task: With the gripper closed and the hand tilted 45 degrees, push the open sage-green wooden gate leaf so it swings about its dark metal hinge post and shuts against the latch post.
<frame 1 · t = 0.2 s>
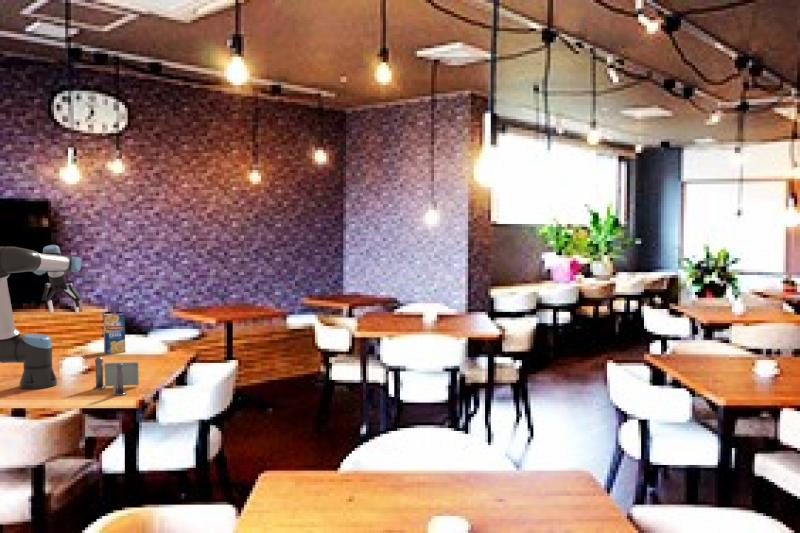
hand: (64, 312, 370), 28 cm above the table, tool tilted 20°, fingers open, 13 cm apart
gate: (121, 374, 318), point 6 cm above the table, hinge at 50.0°
blue cracker box: (114, 352, 411), on the table
hinge post: (99, 388, 317), on the table
latch post: (120, 394, 305), on the table
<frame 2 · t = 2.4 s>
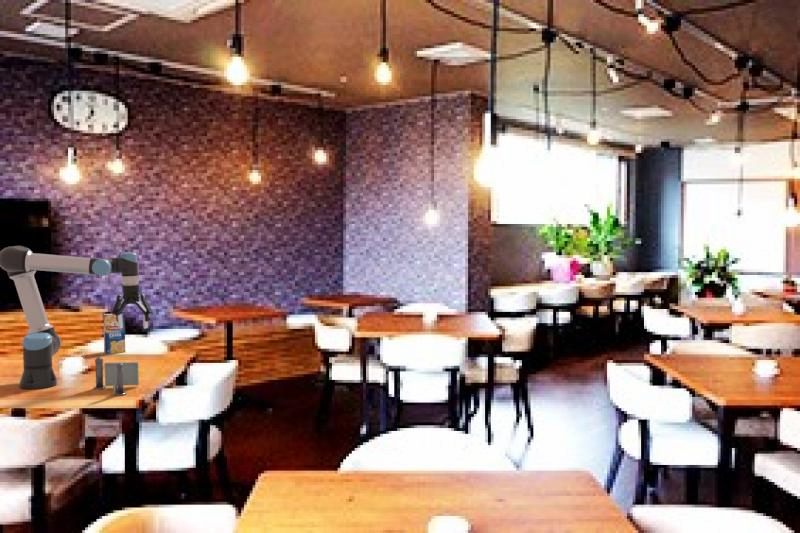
hand: (133, 328, 343), 23 cm above the table, tool pointing down, fingers open, 13 cm apart
nothing on the table moved.
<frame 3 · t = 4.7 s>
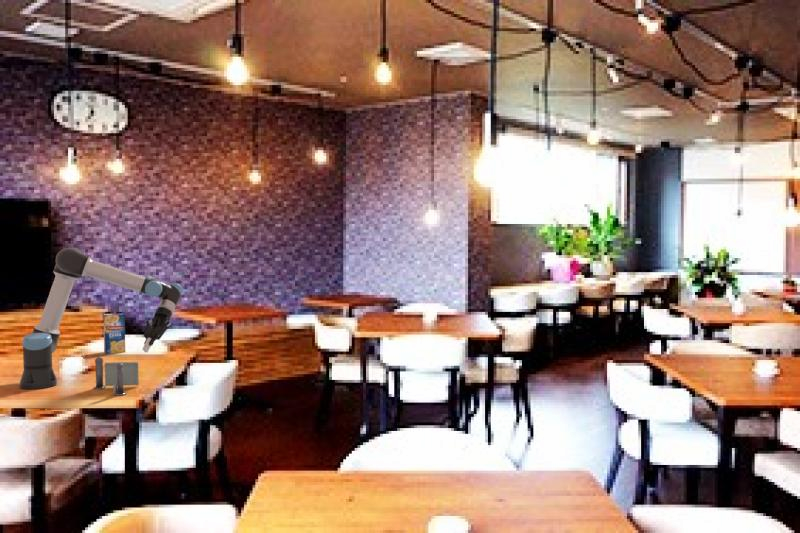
hand: (145, 350, 331), 14 cm above the table, tool tilted 45°, fingers closed
nothing on the table moved.
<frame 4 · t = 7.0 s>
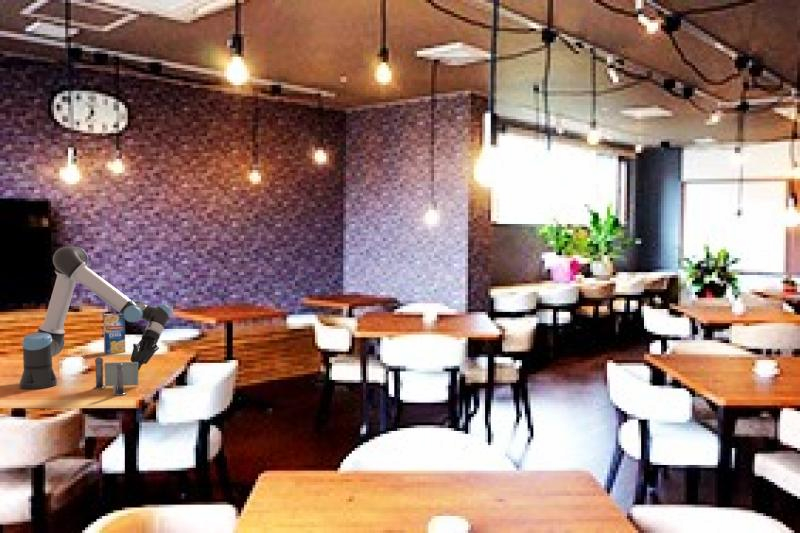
hand: (131, 375, 320), 5 cm above the table, tool tilted 45°, fingers closed
gate: (121, 374, 318), point 6 cm above the table, hinge at 48.8°, touching gripper
everything else where it was.
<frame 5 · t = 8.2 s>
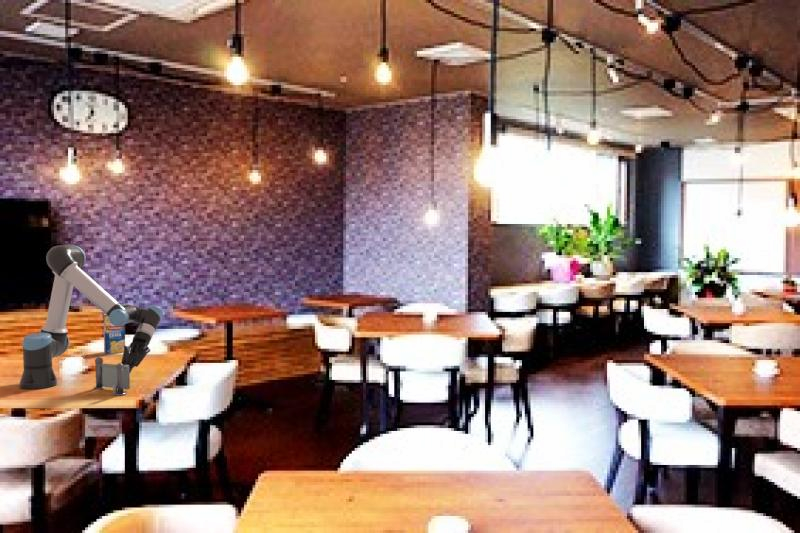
hand: (122, 378, 314), 5 cm above the table, tool tilted 45°, fingers closed
gate: (115, 376, 313), point 6 cm above the table, hinge at 18.0°, touching gripper
everything else where it was.
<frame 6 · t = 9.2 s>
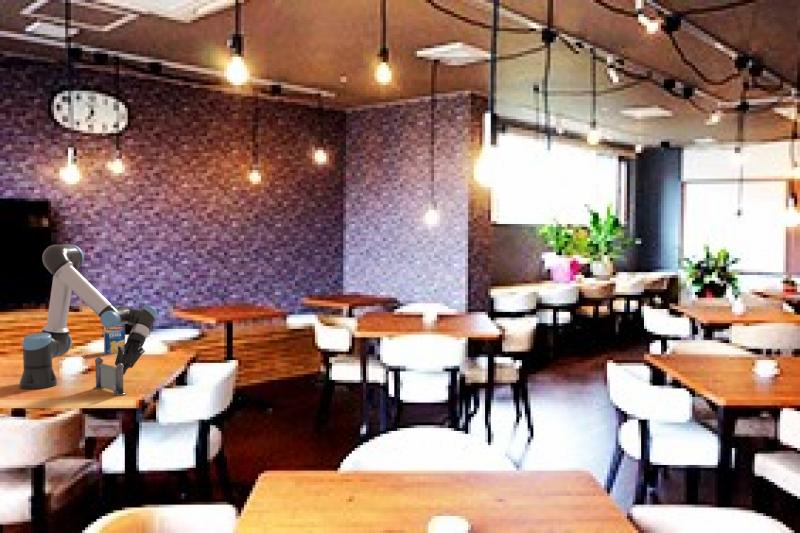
hand: (116, 380, 311), 5 cm above the table, tool tilted 45°, fingers closed
gate: (109, 377, 310), point 6 cm above the table, hinge at -0.3°, touching gripper, latch post
everything else where it was.
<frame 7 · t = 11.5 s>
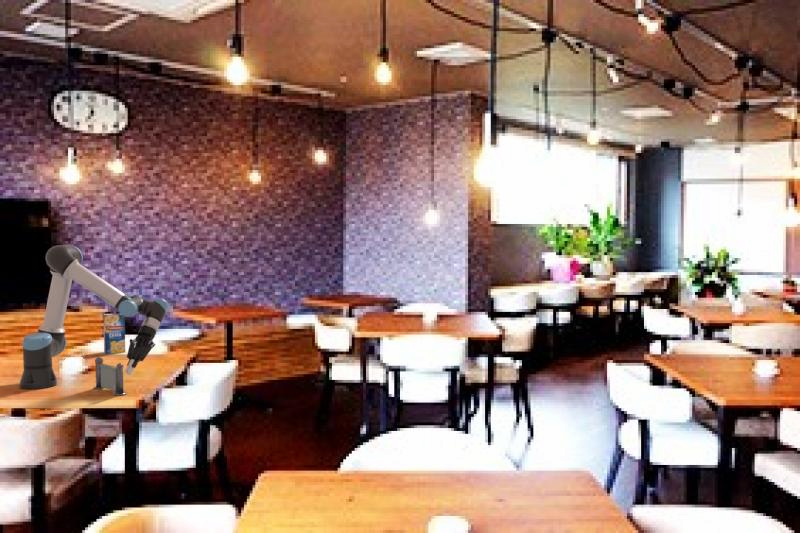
hand: (127, 373, 321), 6 cm above the table, tool tilted 40°, fingers closed
gate: (109, 377, 310), point 6 cm above the table, hinge at -0.3°, touching latch post
everything else where it was.
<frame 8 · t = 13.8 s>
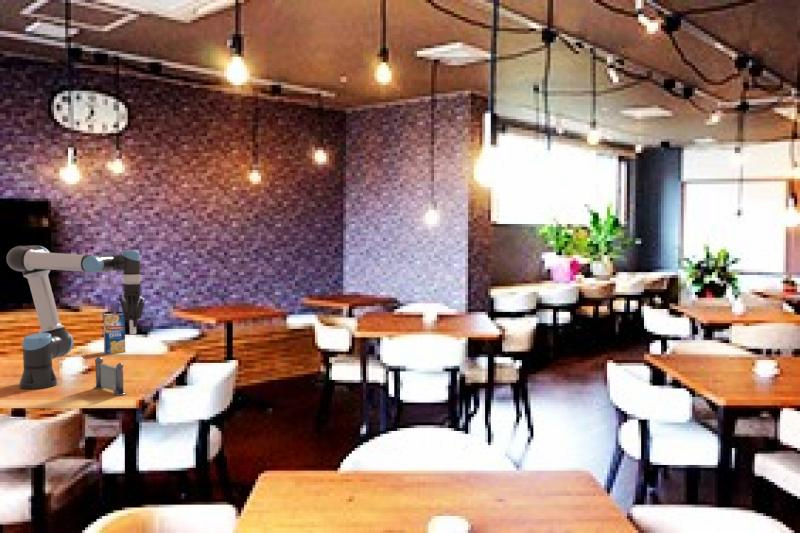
hand: (133, 333, 330), 22 cm above the table, tool pointing down, fingers closed
nothing on the table moved.
at the end: gate at +0° (first picture: +50°); gate touching latch post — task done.
